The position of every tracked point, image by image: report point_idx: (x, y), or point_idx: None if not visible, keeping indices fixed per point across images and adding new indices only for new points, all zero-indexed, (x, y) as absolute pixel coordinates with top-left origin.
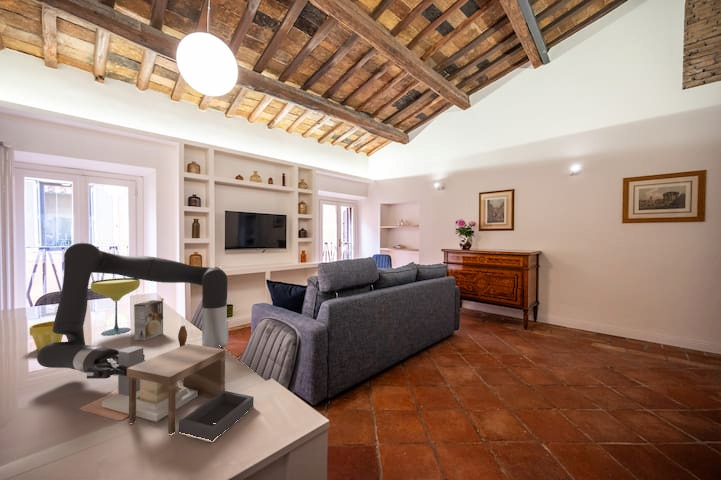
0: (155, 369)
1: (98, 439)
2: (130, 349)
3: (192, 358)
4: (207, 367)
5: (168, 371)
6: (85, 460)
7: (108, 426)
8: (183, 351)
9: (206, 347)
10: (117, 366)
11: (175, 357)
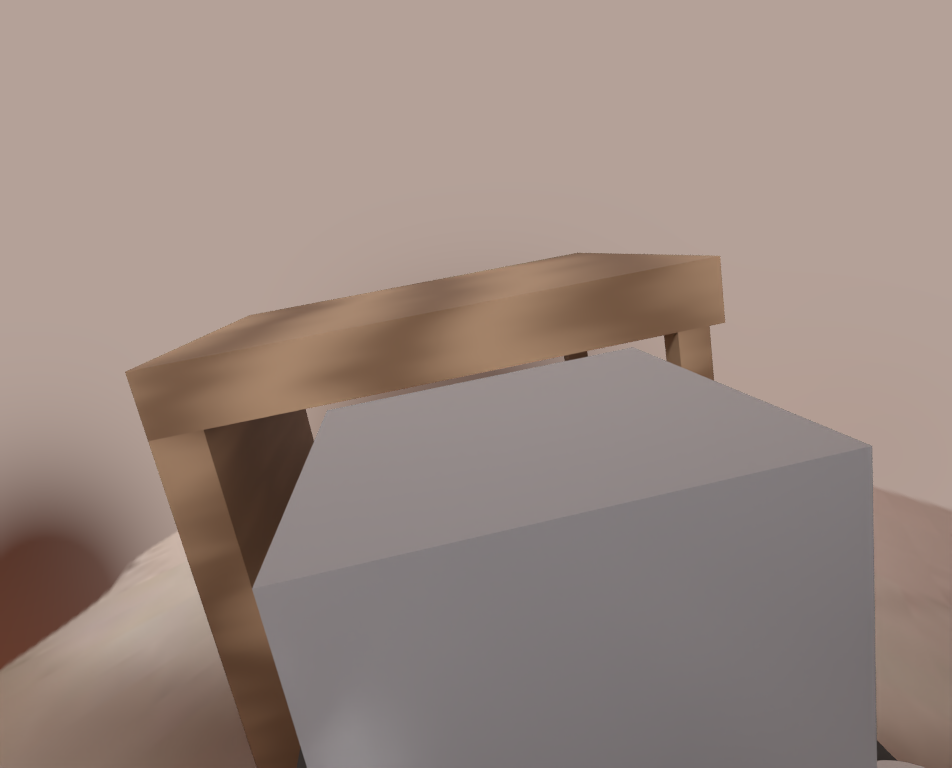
0: (586, 261)
1: (909, 634)
2: (531, 418)
3: (401, 291)
4: (289, 437)
5: (556, 260)
6: (922, 539)
7: (877, 727)
8: (323, 319)
9: (225, 329)
10: (879, 766)
11: (428, 295)
